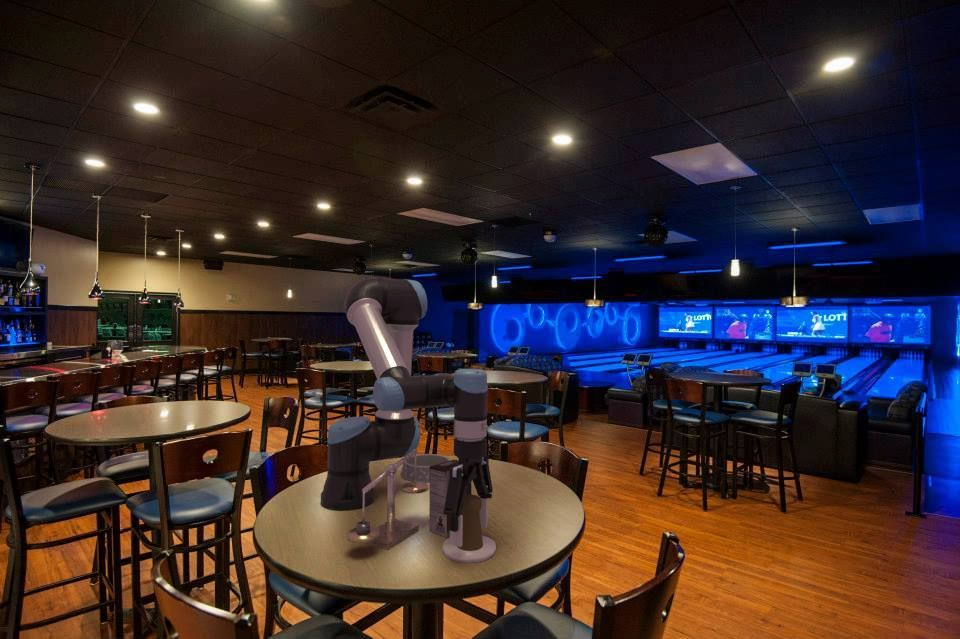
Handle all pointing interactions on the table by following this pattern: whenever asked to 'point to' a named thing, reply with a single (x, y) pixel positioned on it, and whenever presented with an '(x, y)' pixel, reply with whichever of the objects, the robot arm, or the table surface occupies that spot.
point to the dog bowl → (421, 467)
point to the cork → (471, 524)
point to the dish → (470, 552)
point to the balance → (388, 512)
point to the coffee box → (440, 497)
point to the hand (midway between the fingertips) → (469, 535)
